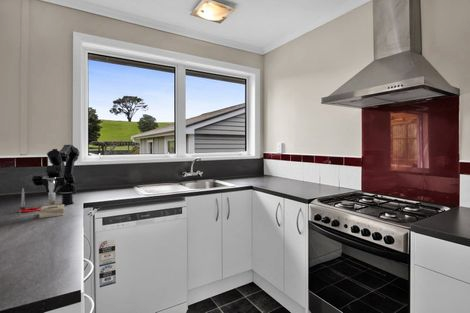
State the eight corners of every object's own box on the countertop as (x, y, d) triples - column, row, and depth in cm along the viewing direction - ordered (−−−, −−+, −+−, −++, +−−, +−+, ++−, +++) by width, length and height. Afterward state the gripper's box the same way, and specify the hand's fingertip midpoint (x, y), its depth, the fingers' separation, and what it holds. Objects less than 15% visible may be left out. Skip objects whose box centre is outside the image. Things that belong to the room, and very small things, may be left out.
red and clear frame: (43, 209, 149) (24, 209, 146) (44, 187, 149) (24, 187, 146) (37, 212, 141) (17, 213, 138) (38, 189, 141) (17, 189, 138)
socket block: (42, 213, 137) (41, 206, 137) (64, 210, 143) (64, 204, 142) (39, 218, 127) (39, 211, 127) (63, 215, 132) (63, 208, 132)
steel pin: (46, 204, 135) (45, 177, 134) (55, 203, 138) (54, 177, 137) (48, 205, 132) (47, 178, 131) (57, 204, 135) (56, 177, 134)
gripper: (32, 160, 135) (24, 183, 125) (73, 159, 141) (68, 181, 131) (38, 173, 142) (31, 197, 132) (77, 172, 149) (72, 194, 139)
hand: (51, 192), depth 133 cm, fingers closed on steel pin, 3 cm apart
